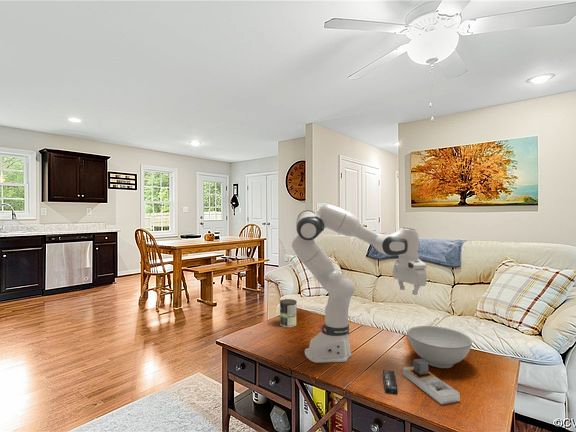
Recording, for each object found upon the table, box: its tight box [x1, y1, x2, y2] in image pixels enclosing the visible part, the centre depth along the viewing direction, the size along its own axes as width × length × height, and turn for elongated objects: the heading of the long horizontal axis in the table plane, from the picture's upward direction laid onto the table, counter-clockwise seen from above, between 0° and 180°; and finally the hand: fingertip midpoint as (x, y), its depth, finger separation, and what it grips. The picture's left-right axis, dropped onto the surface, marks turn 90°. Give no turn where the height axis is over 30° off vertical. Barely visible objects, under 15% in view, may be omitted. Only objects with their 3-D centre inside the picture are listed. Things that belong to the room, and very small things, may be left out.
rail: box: [402, 366, 461, 406], centre depth 127 cm, size 8×22×3 cm, turn 16°
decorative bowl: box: [406, 325, 473, 369], centre depth 149 cm, size 27×27×12 cm
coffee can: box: [279, 298, 298, 328], centre depth 199 cm, size 10×10×14 cm
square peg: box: [412, 357, 429, 377], centre depth 132 cm, size 4×4×8 cm
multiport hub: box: [382, 369, 398, 395], centre depth 130 cm, size 4×14×2 cm, turn 167°
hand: (408, 292), depth 152 cm, fingers open, 8 cm apart
